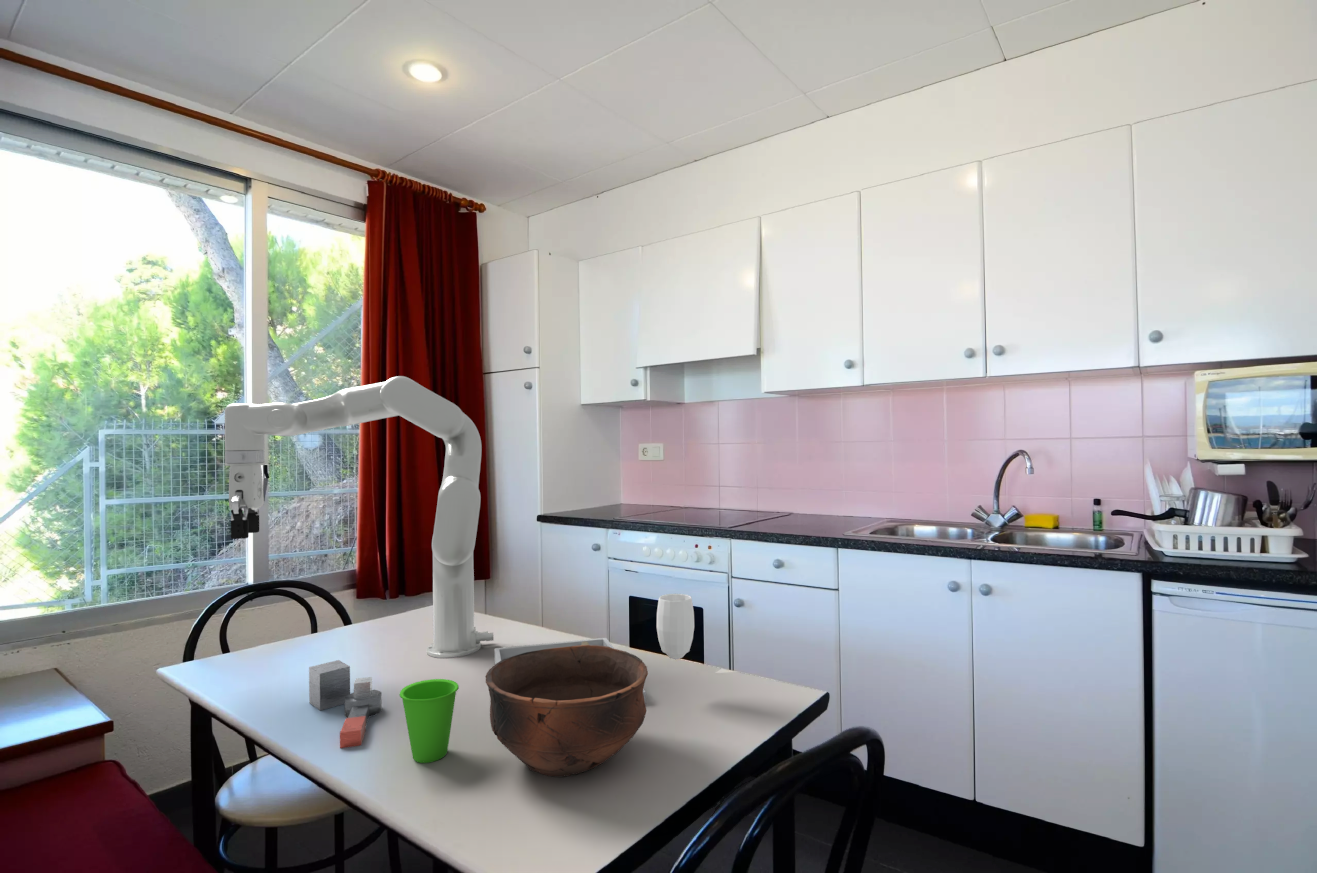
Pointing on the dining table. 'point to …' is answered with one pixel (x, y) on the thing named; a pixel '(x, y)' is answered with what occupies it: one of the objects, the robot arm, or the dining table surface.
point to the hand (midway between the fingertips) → (245, 535)
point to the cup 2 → (675, 624)
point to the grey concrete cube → (329, 684)
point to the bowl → (567, 706)
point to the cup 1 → (429, 717)
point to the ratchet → (359, 712)
